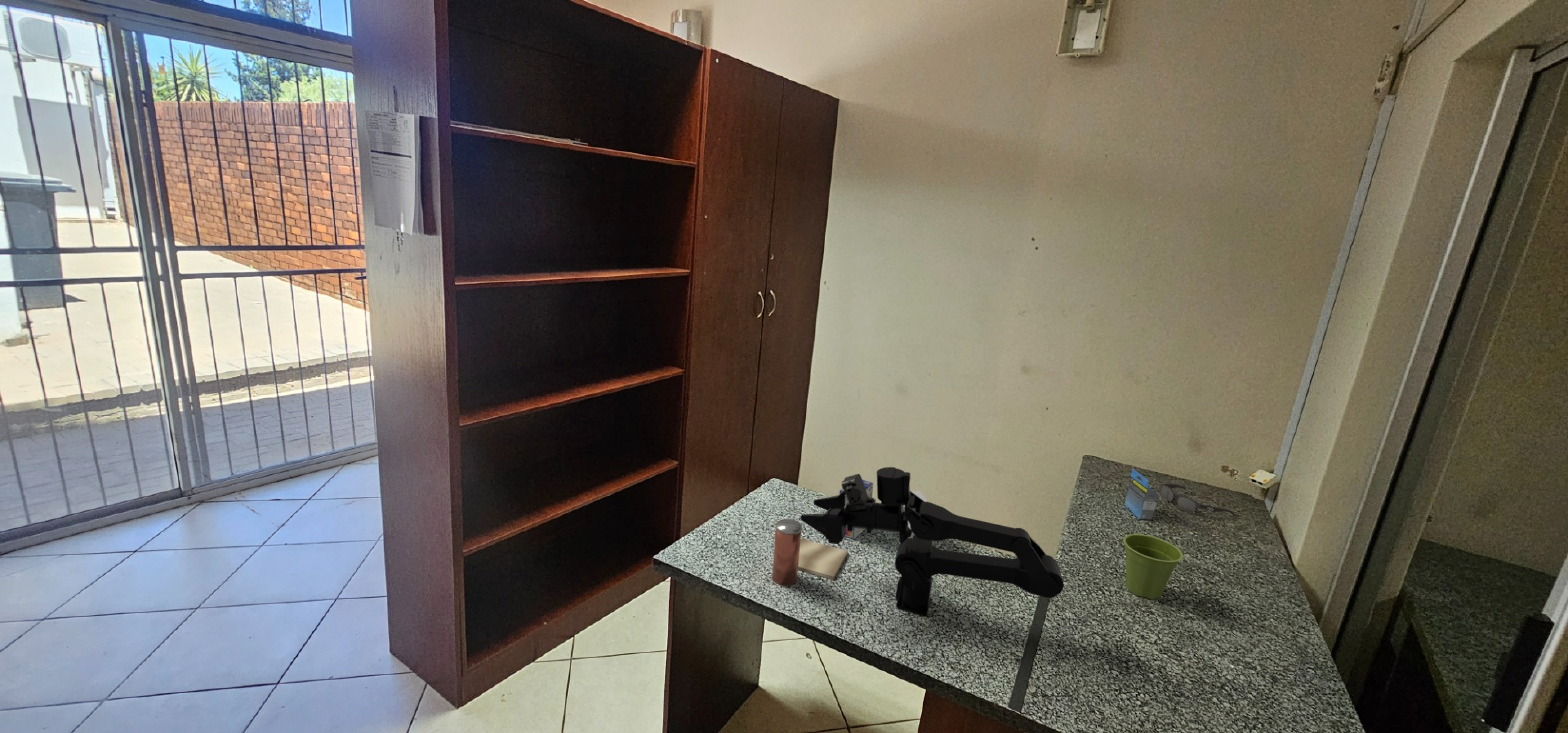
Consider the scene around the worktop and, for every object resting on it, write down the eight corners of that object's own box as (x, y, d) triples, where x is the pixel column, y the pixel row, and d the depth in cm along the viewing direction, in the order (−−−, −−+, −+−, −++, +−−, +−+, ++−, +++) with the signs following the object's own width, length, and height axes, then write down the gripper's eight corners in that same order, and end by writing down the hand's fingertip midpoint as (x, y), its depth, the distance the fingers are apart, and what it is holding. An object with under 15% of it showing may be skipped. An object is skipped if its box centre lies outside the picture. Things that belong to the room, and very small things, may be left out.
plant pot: (1122, 569, 149) (1132, 528, 146) (1178, 593, 141) (1189, 549, 138) (1106, 587, 141) (1116, 544, 138) (1163, 613, 133) (1175, 567, 130)
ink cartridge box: (851, 518, 165) (857, 468, 161) (870, 525, 162) (876, 474, 158) (834, 532, 156) (839, 481, 153) (853, 540, 154) (859, 487, 150)
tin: (800, 575, 137) (805, 522, 134) (792, 588, 132) (796, 534, 129) (777, 568, 139) (781, 516, 136) (767, 581, 134) (771, 528, 131)
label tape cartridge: (1152, 520, 177) (1162, 481, 174) (1139, 519, 177) (1148, 480, 174) (1136, 506, 185) (1144, 468, 182) (1123, 505, 185) (1131, 467, 182)
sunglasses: (1150, 494, 195) (1155, 480, 194) (1190, 497, 200) (1195, 483, 199) (1194, 519, 180) (1200, 504, 179) (1237, 522, 184) (1243, 507, 183)
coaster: (847, 553, 147) (847, 550, 147) (833, 579, 136) (833, 576, 136) (800, 541, 151) (801, 538, 151) (783, 565, 140) (783, 562, 140)
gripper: (886, 466, 135) (819, 461, 141) (867, 494, 118) (792, 488, 124) (886, 514, 137) (820, 507, 142) (868, 549, 120) (793, 540, 125)
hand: (807, 509), depth 133 cm, fingers open, 9 cm apart
